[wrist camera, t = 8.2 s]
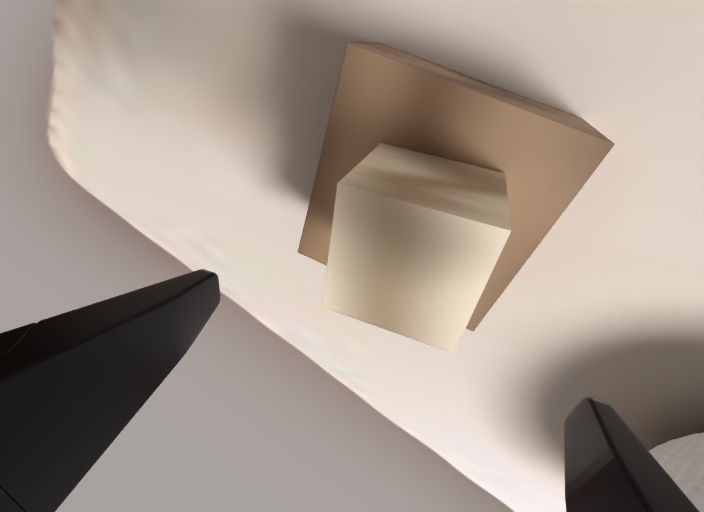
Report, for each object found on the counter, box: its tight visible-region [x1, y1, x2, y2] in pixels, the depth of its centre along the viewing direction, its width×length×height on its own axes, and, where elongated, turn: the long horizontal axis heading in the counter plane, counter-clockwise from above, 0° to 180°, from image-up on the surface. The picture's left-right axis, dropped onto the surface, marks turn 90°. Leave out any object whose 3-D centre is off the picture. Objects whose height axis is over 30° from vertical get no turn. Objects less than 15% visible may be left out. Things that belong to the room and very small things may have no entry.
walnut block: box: [298, 43, 614, 331], centre depth 17 cm, size 10×10×5 cm
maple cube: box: [322, 143, 511, 353], centre depth 13 cm, size 5×5×5 cm
